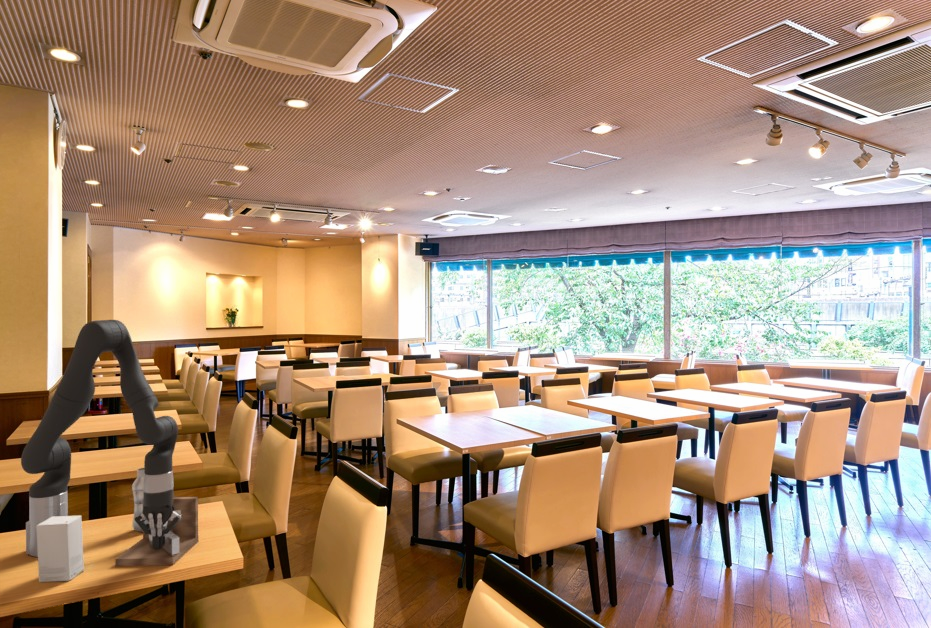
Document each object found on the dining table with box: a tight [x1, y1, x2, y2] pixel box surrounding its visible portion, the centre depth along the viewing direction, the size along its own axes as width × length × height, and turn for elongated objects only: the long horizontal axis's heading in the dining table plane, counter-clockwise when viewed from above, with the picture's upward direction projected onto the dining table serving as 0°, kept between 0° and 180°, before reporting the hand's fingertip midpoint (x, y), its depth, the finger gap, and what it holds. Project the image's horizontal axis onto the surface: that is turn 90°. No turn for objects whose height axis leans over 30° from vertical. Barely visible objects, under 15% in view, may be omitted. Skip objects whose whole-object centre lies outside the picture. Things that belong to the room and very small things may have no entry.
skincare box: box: [36, 515, 85, 583], centre depth 151 cm, size 8×7×16 cm
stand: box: [114, 496, 199, 567], centre depth 166 cm, size 16×16×14 cm
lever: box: [149, 526, 179, 555], centre depth 164 cm, size 14×6×5 cm, turn 49°
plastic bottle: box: [131, 467, 145, 532], centre depth 183 cm, size 6×7×20 cm
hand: (158, 548), depth 160 cm, fingers closed
